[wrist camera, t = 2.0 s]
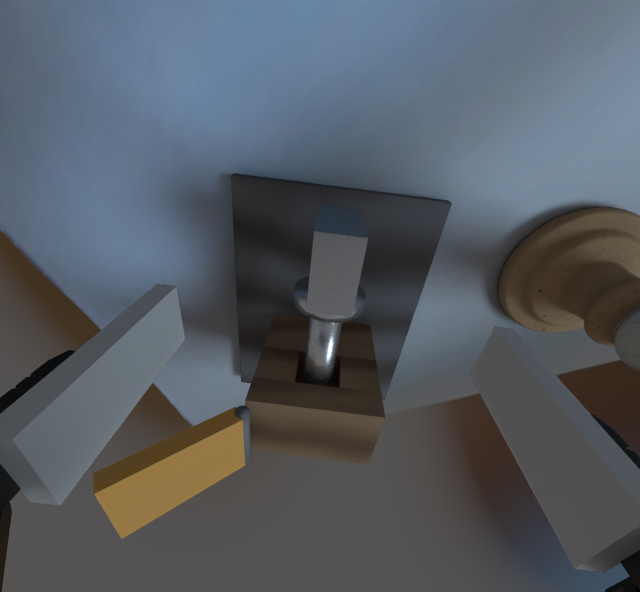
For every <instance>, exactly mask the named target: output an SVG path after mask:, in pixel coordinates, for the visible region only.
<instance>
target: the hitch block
mask: <svg viewBox="0 0 640 592" xmlns="http://www.w3.org/2000/svg"><path fill="white" fill-rule="evenodd" d="M231 181H232V202H233V222H234V243H235V263H236V284H237V304H238V324H239V345H240V365H241V382H246V383H251V385H250V388H249V391H248V394H247V397H246V400H245V406H247V407H248V408H249V412H250V446H251V449H253V450H260V451H269V452H277V453H284V454H292V455H300V456H309V457H316V458H324V459H333V460H340V461H349V462H357V463H365V464H368V463H369V461H370V458H371V455H372V453H373V450H374V447H375V444H376V442H377V438H378V436H379V433H380V430H381V427H382V425H383V422H384V419H385V414H384V408H383V401H382V400H385V397H386V394H387V391H388V389H389V386H390V383H391V380H392V377H393V374H394V371H395V368H396V365H397V362H398V359H399V356H400V353H401V350H402V348H403V345H404V342H405V339H406V336H407V333H408V330H409V327H410V324H411V321H412V318H413V315H414V312H415V309H416V307H417V304H418V301H419V298H420V295H421V292H422V289H423V286H424V283H425V280H426V277H427V274H428V271H429V268H430V266H431V263H432V260H433V257H434V254H435V251H436V248H437V245H438V242H439V239H440V236H441V233H442V230H443V227H444V225H445V222H446V219H447V216H448V213H449V210H450V207H451V204H452V203H451V202H449V201H447V200H439V199H431V198H423V197H416V196H408V195H400V194H392V193H384V192H376V191H369V190H361V189H353V188H345V187H337V186H329V185H321V184H314V183H306V182H298V181H290V180H282V179H274V178H266V177H259V176H251V175H243V174H233V175H231ZM321 205H328V206H336V207H344V208H351V209H359V210H361V212H362V216H363V220H364V224H365V228H366V232H367V235H368V242H367V247H366V252H365V256H364V261H363V266H362V271H361V276H360V281H359V286H360V287H361V288H362V289H363V290H364V292H365V294H366V300H365V304H364V309H363V312H362V314H361V315H360V316H359V317H357V318H356V319H354V320H351V321H348V322H342V325H341V331H340V336H339V342H338V347H337V352H336V358H335V363H334V369H333V374H332V379H331V385H330V386H322V385H314V384H306V383H303V376H304V367H305V358H306V349H307V340H308V331H309V322H310V317H308V316H306V315H304V314H303V313H301V312H300V311H299V310H298V309H297V308H296V306H295V304H294V288H295V284H296V283H297V282H298V281H299V280H300V279H302V278H304V277H307V276H310V267H311V257H312V247H313V237H314V230H315V226H316V222H317V218H318V214H319V210H320V206H321Z"/></svg>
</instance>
